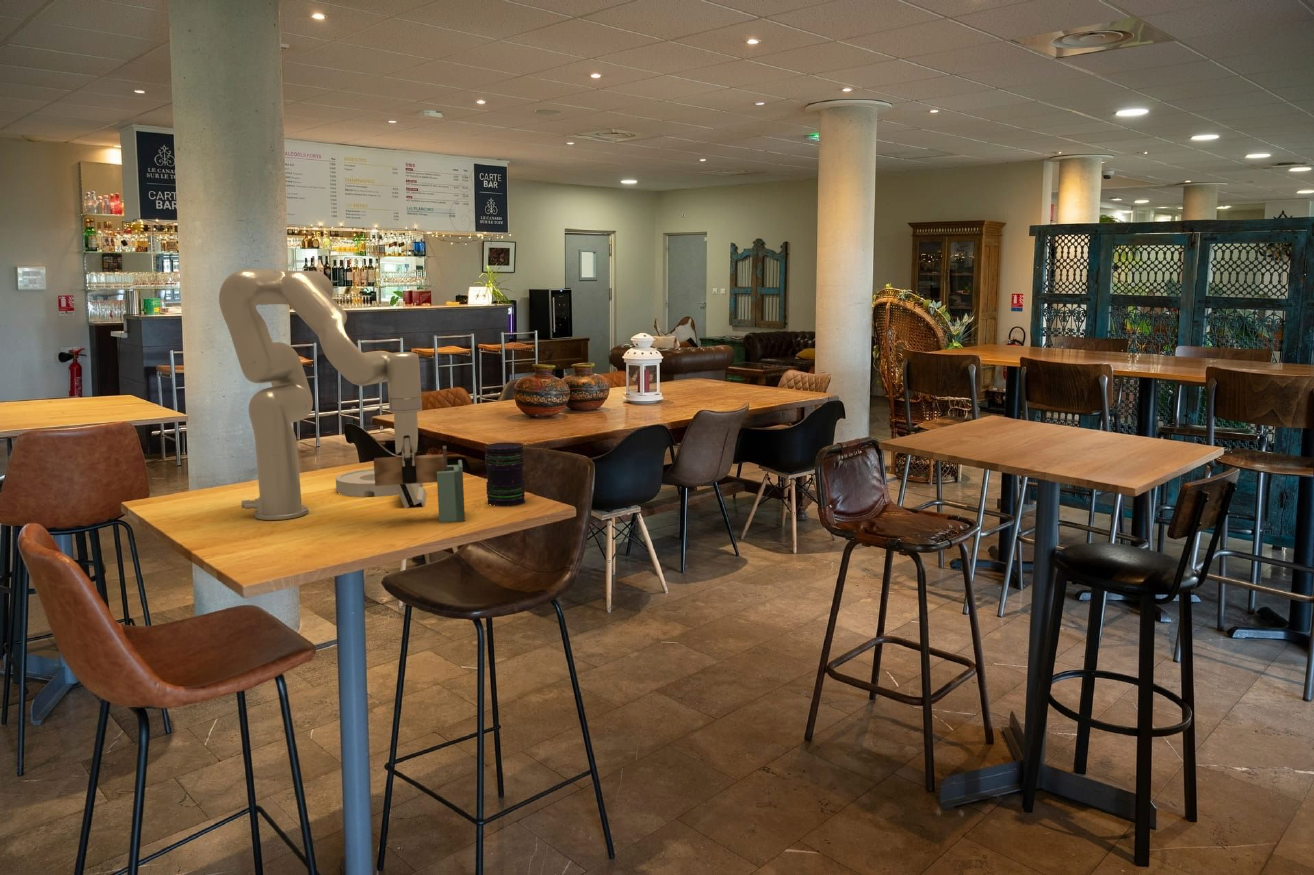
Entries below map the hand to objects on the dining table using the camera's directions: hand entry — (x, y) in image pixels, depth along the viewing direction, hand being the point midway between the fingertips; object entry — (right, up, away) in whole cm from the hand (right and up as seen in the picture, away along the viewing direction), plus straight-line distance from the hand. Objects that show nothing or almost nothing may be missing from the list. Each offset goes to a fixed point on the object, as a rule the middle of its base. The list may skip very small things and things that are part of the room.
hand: (410, 480), depth 232 cm
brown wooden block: (0, -1, 0) cm, 0 cm away
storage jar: (+20, -7, +19) cm, 28 cm away
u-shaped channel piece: (+9, -9, +4) cm, 14 cm away
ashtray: (-18, -5, +39) cm, 43 cm away
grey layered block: (-5, -7, +22) cm, 24 cm away
